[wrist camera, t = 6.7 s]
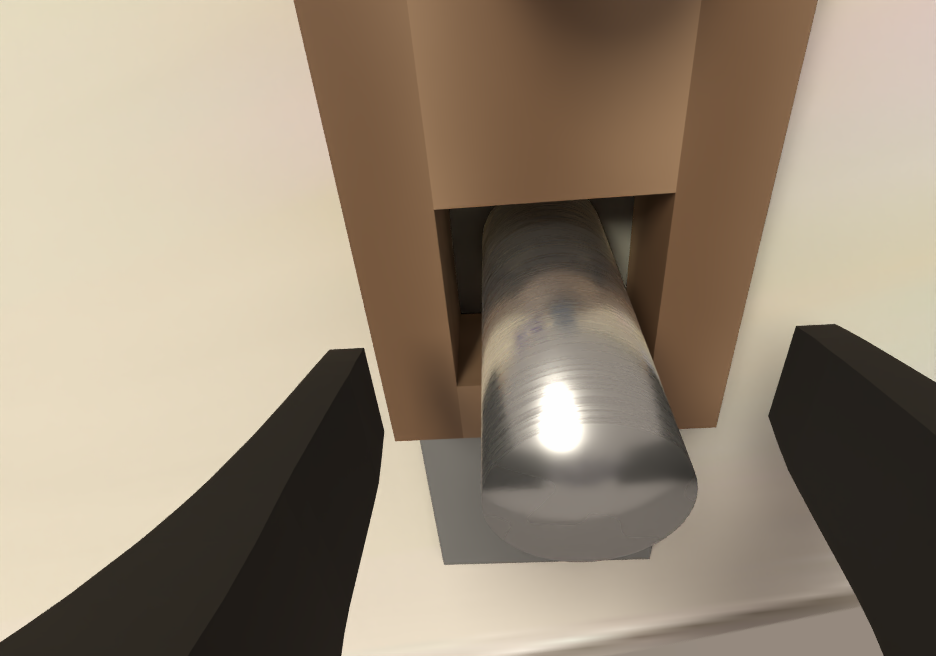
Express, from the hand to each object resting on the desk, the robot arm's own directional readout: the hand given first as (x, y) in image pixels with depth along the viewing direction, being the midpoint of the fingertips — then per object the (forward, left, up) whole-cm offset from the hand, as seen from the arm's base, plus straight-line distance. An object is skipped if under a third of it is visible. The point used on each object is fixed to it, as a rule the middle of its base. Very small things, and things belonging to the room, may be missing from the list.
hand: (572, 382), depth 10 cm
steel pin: (0, 0, -6) cm, 6 cm away
